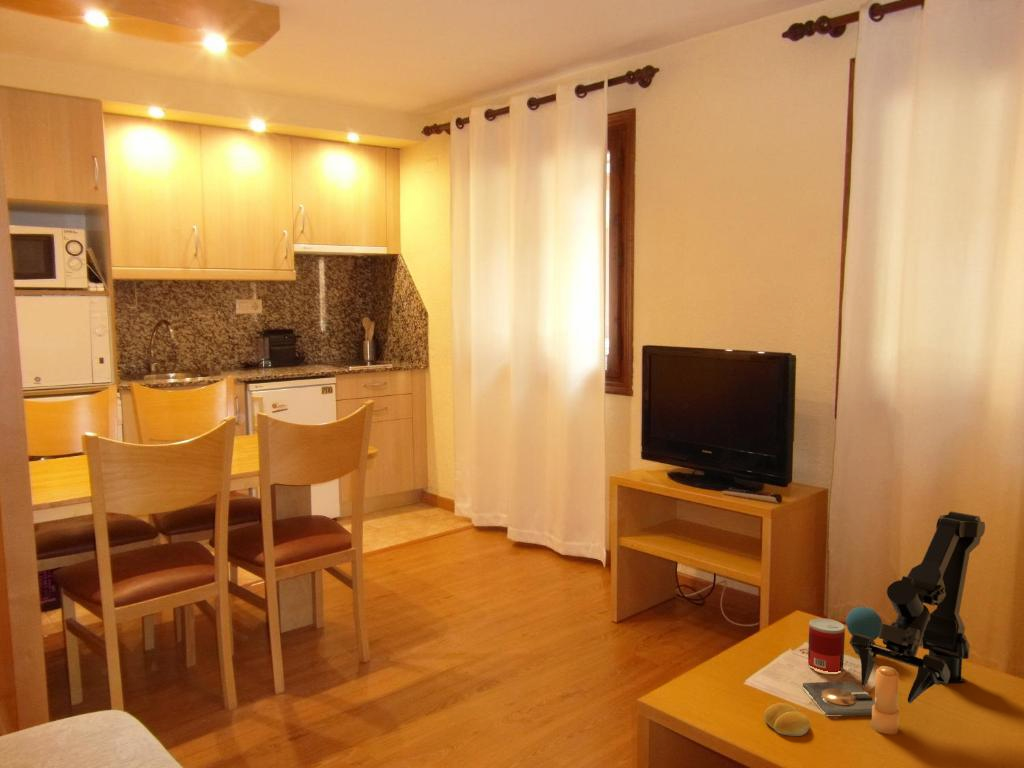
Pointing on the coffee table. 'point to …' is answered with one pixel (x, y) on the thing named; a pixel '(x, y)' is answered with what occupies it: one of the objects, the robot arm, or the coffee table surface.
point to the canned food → (826, 644)
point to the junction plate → (840, 698)
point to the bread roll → (786, 720)
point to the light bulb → (864, 622)
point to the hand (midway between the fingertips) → (885, 693)
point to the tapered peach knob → (886, 701)
